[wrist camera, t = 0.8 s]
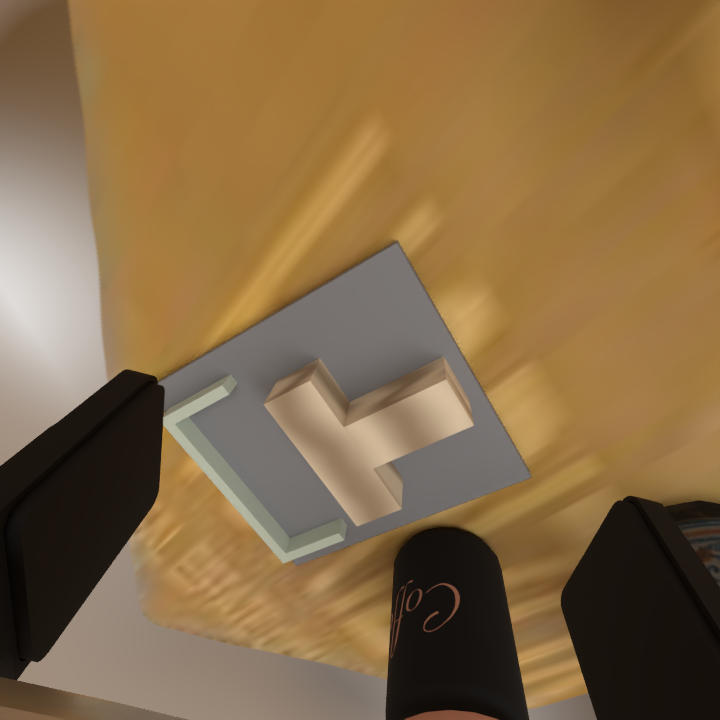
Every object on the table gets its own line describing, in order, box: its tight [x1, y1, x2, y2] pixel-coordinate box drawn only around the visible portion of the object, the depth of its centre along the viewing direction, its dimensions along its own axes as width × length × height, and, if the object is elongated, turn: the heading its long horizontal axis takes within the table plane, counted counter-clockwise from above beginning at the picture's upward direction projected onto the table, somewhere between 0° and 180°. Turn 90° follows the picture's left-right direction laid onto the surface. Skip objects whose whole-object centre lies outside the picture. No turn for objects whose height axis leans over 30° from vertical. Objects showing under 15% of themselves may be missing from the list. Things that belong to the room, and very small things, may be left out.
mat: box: [158, 240, 532, 566], centre depth 43 cm, size 26×24×3 cm
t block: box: [264, 356, 474, 526], centre depth 40 cm, size 14×14×4 cm
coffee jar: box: [386, 528, 529, 720], centre depth 42 cm, size 11×11×18 cm
